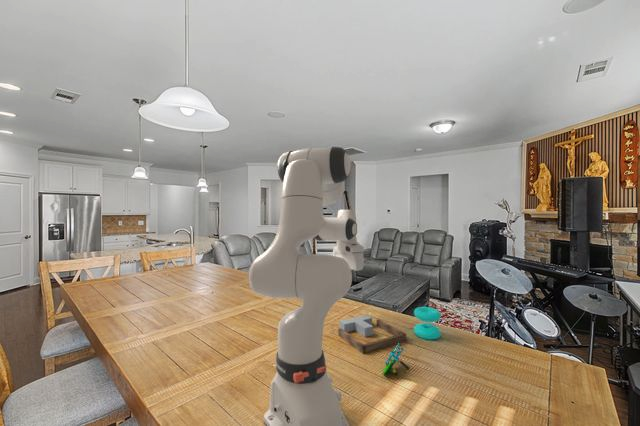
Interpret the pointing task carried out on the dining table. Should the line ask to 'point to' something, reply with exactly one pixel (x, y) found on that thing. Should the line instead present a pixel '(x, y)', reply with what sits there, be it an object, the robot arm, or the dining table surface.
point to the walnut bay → (377, 344)
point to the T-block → (358, 325)
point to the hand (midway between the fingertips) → (346, 276)
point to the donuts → (424, 328)
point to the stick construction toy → (396, 359)
